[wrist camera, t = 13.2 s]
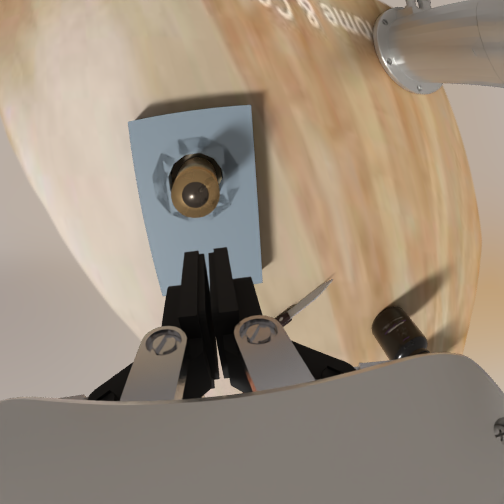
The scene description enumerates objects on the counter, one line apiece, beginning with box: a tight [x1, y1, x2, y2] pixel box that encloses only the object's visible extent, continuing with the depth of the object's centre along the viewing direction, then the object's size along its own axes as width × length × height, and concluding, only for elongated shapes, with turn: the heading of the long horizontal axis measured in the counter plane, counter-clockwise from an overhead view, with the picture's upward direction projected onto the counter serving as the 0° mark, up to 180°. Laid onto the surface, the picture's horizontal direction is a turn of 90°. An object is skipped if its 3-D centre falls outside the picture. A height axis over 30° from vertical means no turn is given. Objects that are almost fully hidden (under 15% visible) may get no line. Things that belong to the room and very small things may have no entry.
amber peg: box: [171, 157, 220, 218], centre depth 26 cm, size 4×4×8 cm
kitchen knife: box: [276, 279, 333, 327], centre depth 40 cm, size 18×1×2 cm, turn 131°
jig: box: [128, 105, 263, 296], centre depth 30 cm, size 20×12×2 cm, turn 4°
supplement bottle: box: [372, 307, 430, 360], centre depth 40 cm, size 7×7×12 cm
